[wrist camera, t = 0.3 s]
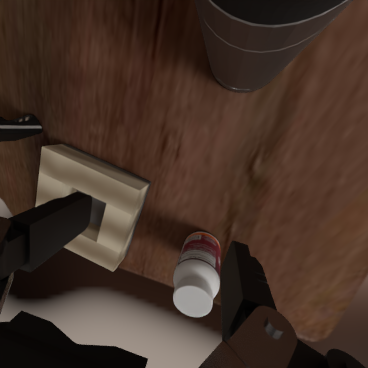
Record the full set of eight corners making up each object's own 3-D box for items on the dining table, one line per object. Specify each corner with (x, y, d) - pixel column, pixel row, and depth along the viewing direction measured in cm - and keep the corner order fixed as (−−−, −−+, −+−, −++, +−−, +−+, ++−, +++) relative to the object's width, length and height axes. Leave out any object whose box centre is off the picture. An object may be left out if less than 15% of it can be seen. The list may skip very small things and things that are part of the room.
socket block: (66, 143, 32) (41, 146, 28) (151, 181, 31) (139, 190, 26) (54, 219, 37) (32, 231, 33) (126, 254, 36) (113, 271, 32)
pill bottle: (210, 267, 33) (204, 331, 23) (179, 251, 33) (158, 306, 23) (227, 240, 31) (228, 297, 21) (193, 223, 31) (177, 271, 21)
